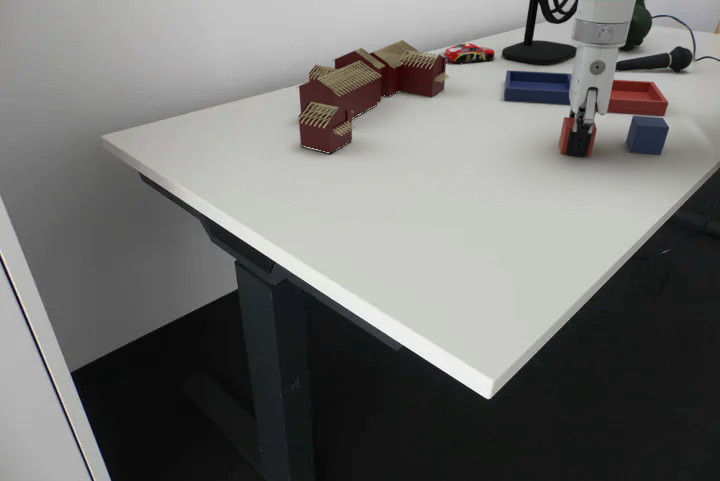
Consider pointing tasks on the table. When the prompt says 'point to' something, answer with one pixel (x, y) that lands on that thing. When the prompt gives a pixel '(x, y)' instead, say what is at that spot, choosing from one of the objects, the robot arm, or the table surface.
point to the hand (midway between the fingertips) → (574, 147)
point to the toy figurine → (638, 26)
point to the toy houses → (362, 89)
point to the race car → (468, 53)
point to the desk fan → (542, 49)
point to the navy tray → (537, 87)
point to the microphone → (659, 61)
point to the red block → (566, 131)
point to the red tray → (636, 98)
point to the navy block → (647, 135)
